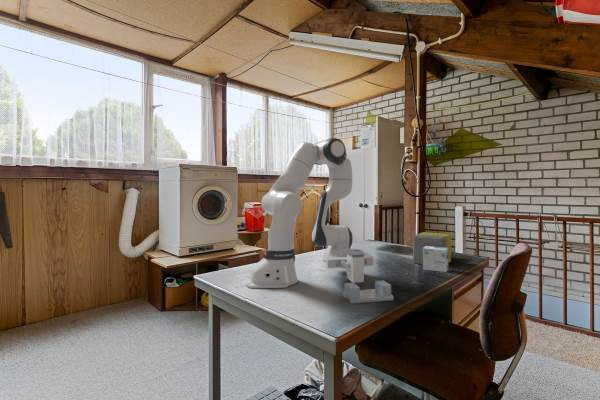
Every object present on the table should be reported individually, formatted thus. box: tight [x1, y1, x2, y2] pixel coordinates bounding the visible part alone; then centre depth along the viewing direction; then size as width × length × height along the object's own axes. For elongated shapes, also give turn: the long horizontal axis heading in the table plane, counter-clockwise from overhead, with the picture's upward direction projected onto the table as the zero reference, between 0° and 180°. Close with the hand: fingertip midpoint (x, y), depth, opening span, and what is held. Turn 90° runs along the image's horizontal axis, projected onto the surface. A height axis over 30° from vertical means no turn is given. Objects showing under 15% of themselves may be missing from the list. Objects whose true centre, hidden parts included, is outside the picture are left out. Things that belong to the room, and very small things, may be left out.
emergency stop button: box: [412, 231, 452, 266], centre depth 167 cm, size 15×24×15 cm, turn 139°
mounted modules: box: [344, 280, 392, 298], centre depth 113 cm, size 16×6×4 cm, turn 101°
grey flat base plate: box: [342, 288, 394, 305], centre depth 113 cm, size 16×8×2 cm, turn 101°
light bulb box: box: [422, 246, 449, 273], centre depth 151 cm, size 11×7×11 cm, turn 58°
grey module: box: [346, 251, 365, 284], centre depth 125 cm, size 5×7×11 cm, turn 11°
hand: (355, 265), depth 124 cm, fingers closed on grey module, 4 cm apart
